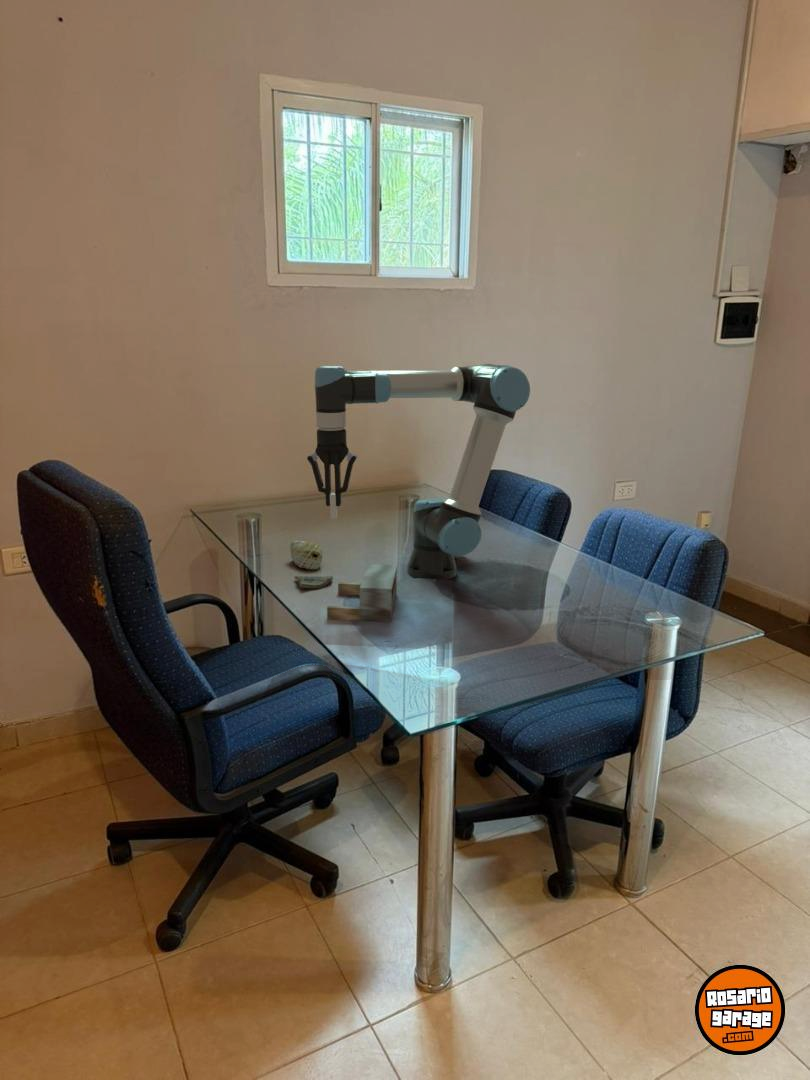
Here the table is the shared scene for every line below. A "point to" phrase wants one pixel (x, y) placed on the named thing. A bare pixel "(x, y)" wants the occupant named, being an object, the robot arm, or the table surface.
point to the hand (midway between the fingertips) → (333, 517)
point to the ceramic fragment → (313, 581)
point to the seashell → (306, 554)
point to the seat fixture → (369, 595)
